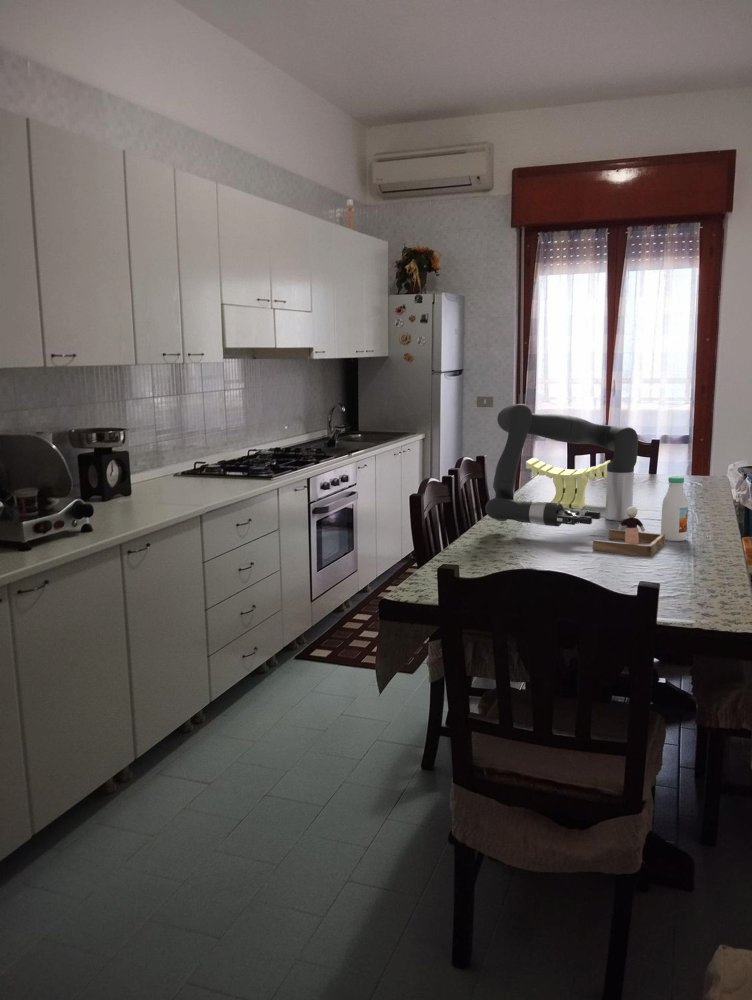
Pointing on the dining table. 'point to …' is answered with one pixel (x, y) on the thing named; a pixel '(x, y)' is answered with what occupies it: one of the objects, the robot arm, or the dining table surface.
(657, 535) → the box
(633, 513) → the grandmother figurine
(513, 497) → the robot arm
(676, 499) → the milk bottle
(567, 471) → the slatted curved stool
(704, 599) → the dining table surface
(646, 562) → the dining table surface
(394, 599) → the dining table surface
